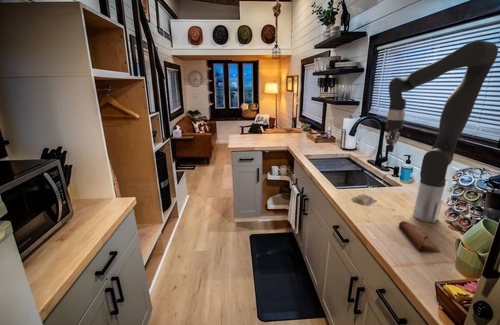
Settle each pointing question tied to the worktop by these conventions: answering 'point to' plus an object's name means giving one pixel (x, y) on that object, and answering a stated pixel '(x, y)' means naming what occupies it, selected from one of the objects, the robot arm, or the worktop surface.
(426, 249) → the sunglasses case
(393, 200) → the worktop surface
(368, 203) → the mat
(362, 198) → the tile
